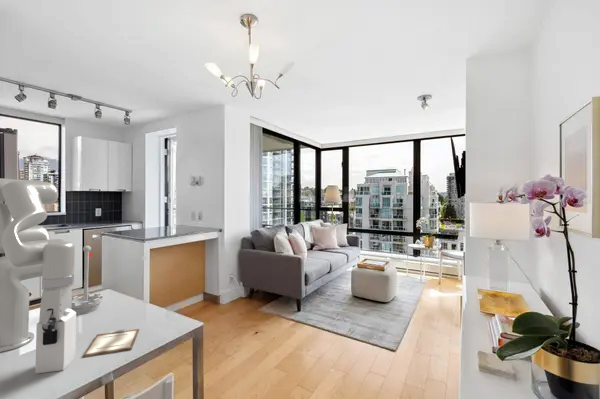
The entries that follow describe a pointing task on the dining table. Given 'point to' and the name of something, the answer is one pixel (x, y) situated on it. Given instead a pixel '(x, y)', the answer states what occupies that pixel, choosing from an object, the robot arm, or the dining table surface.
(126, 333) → the clipboard
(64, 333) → the milk carton
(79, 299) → the flag stand
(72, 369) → the dining table surface
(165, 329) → the dining table surface
